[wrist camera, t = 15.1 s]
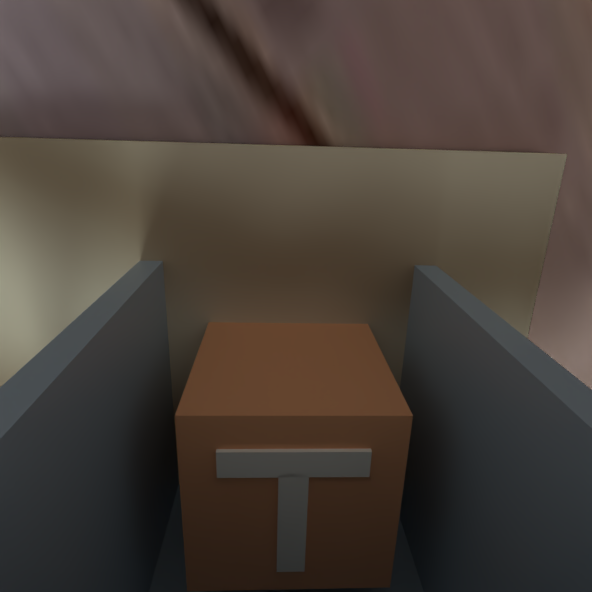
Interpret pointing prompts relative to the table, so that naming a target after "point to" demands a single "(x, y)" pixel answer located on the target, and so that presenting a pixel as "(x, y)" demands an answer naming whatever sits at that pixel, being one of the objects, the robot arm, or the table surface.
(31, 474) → the hollow pale blue box
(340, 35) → the table surface
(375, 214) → the birch board
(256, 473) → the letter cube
